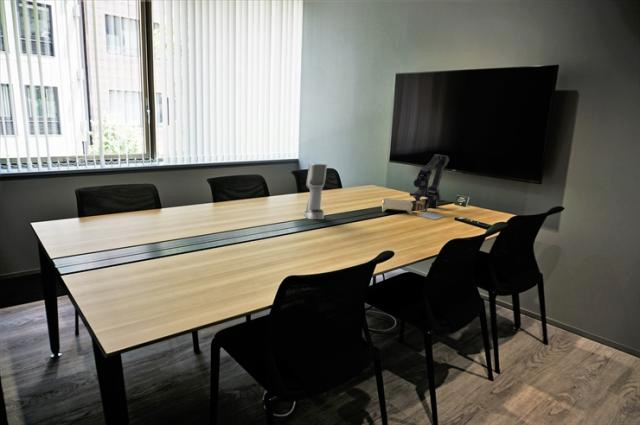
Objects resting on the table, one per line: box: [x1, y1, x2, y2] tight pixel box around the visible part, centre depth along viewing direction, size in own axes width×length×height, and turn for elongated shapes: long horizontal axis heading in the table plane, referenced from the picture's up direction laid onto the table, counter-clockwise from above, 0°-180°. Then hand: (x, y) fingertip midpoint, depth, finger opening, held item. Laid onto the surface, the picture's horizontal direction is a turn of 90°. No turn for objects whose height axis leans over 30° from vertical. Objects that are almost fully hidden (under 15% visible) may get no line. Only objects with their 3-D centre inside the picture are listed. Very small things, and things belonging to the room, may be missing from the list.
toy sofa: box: [381, 197, 414, 215], centre depth 293 cm, size 21×9×10 cm, turn 83°
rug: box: [415, 211, 446, 221], centre depth 288 cm, size 16×14×1 cm
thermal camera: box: [303, 163, 328, 221], centre depth 265 cm, size 12×13×35 cm
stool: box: [415, 199, 429, 213], centre depth 300 cm, size 6×6×7 cm
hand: (421, 207), depth 300 cm, fingers closed on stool, 6 cm apart
